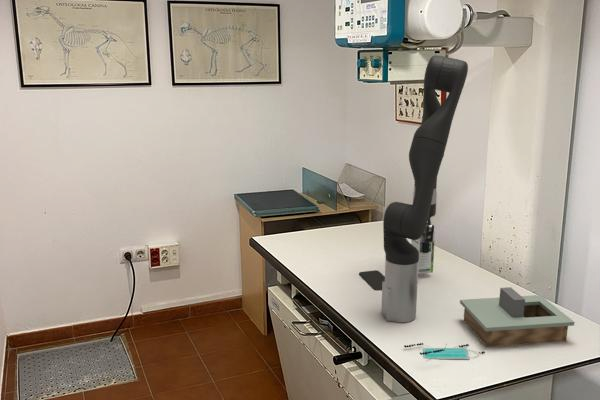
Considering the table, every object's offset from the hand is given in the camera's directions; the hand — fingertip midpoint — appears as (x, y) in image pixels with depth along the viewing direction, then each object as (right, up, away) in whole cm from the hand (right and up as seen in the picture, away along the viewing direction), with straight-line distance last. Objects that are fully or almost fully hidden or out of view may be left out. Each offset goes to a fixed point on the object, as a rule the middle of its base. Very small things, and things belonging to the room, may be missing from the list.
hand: (422, 249), depth 198 cm
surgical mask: (-4, -23, -48) cm, 53 cm away
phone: (-16, -11, -2) cm, 19 cm away
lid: (+17, -14, -38) cm, 44 cm away
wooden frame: (+17, -19, -36) cm, 45 cm away
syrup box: (0, -8, +2) cm, 8 cm away
